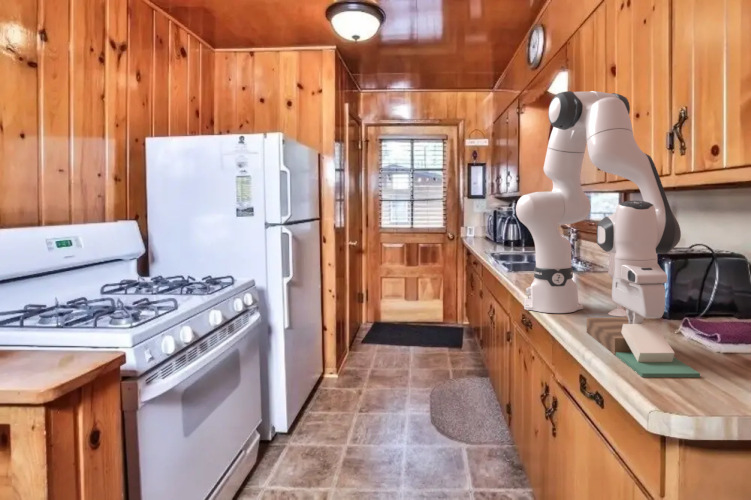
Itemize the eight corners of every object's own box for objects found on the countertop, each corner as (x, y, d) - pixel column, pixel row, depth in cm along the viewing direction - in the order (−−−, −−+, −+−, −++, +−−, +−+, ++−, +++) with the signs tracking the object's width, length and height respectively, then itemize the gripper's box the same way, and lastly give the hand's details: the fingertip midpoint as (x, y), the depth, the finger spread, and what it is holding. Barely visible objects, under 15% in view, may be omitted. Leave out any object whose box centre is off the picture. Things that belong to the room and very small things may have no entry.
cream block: (621, 332, 113) (622, 324, 112) (652, 332, 112) (654, 323, 111) (637, 361, 104) (639, 353, 103) (672, 361, 104) (674, 352, 103)
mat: (615, 355, 112) (615, 352, 112) (665, 355, 110) (666, 352, 110) (642, 377, 98) (642, 373, 98) (700, 377, 97) (700, 373, 96)
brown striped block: (586, 332, 132) (586, 317, 131) (628, 331, 131) (629, 317, 130) (614, 354, 112) (614, 338, 112) (664, 354, 111) (665, 337, 110)
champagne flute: (602, 313, 153) (603, 237, 151) (618, 310, 155) (619, 236, 153) (620, 317, 147) (621, 238, 144) (636, 314, 149) (637, 237, 147)
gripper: (605, 265, 123) (604, 318, 125) (640, 277, 103) (639, 340, 104) (631, 264, 123) (630, 318, 124) (671, 276, 102) (670, 340, 104)
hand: (635, 328), depth 114 cm, fingers closed
